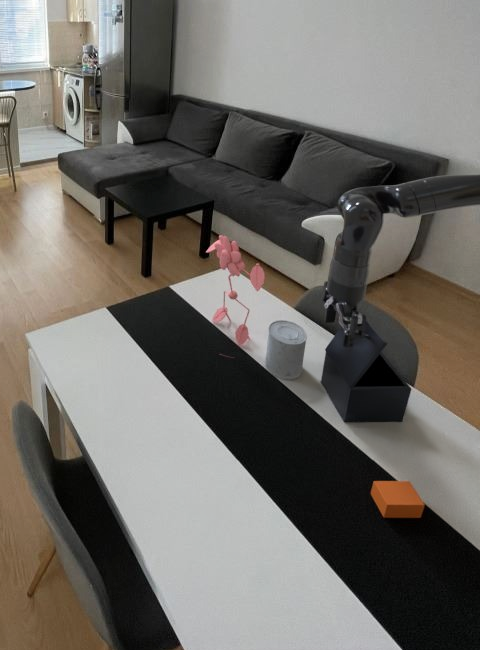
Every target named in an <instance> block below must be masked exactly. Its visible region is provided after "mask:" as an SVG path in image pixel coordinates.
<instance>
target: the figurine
mask: <svg viewBox="0 0 480 650" xmlns="http://www.w3.org/2000/svg"><path fill="white" fill-rule="evenodd" d="M214 251H216V256H217V258H218V259H219V266H220V269H221V270H223V271H226V269H227V271H228V273H229V274H228V282H229V286H230V290H229V291H227V290H223V306H221V307H219V308H218V309H216V311H215V312H214V314H213V316H212V320H211V322H212V321H213V322H212V323H219V322H221V321H222V320H223V319H224V318H225V317H226V318H227V320H228V321H229V322H230V321H231V322H232V319H231V317H230V315H229V314H228V308H227V307H226V304H225V303H226V294H227V296H228V298H229V299H230V300H234V301H236V302H237V303H238V304H239V305H241V306H242V307H244V309H246V310H247V312H246V317H245V320H244V322H243V324H239V325H238V327H237V328H236V330H235V340H236V343H237V344H238V347H241V346H243V345H244V344H245V343H246V342H247V340H251V338H250V336H249V328H248V326H247V325H246V323H247V320H248V318H249V315H250V308H249V307H247V306H245V304H243V303H242V302H241V301H240V300H238V296H239V295H238V292H237V291H235V290H234V289H233V285H232V280H231V277H235V276H236V277H240V276H241V271H242V272H244V273H245V274H247V276H249V278H250V283H251V286H252V287H253V288H254V290H255V291H256V292H259V291H260V290H261V289H262V287H263V285H264V283H265V280H266V276H265V271H264V268H263V267H262V266H260V265H261V264H260V263H256V264H255V265H254V266H253V267H252V269H251V271H250V273H249V272H248V271H247V270H245V269H246V264H245V262H244V261H243V260H242V253H241V252H240V246H239V244H238V241H237V240H233V241H230V239H229V238H228V237H227V236H226V235H222V234H220V235H219V236H218V240H216V241H215V242H213V243H212V244H211V245H210V246H208V249H207V250H206V251H205V253H207V254H208V253H212V252H214ZM220 356H223V357H226V358H229V356H228V355H224V354H221V353H220ZM230 358H231V359H234V357H232V356H230Z"/></svg>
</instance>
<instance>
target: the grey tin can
mask: <svg viewBox="0 0 480 650" xmlns="http://www.w3.org/2000/svg"><path fill="white" fill-rule="evenodd" d="M307 339H308V335H307V332H306V330H305V329H304V328H303V327H302V326H301V325H299V324H297V323H295V322H293V321H289V320H284V319H283V320H282V319H280V320H275V321H272V322H271V323H270V324H269V325H268V333H267V344H266V354H265V360H264V364H265V367H266V369H267V370H268V372H269V373H271V374H272V375H274V376H275V377H278V378H280V379H283V380H295V379H298V378H300V377H301V375H302V373H303V365H304V358H305V350H306V343H307Z"/></svg>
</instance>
